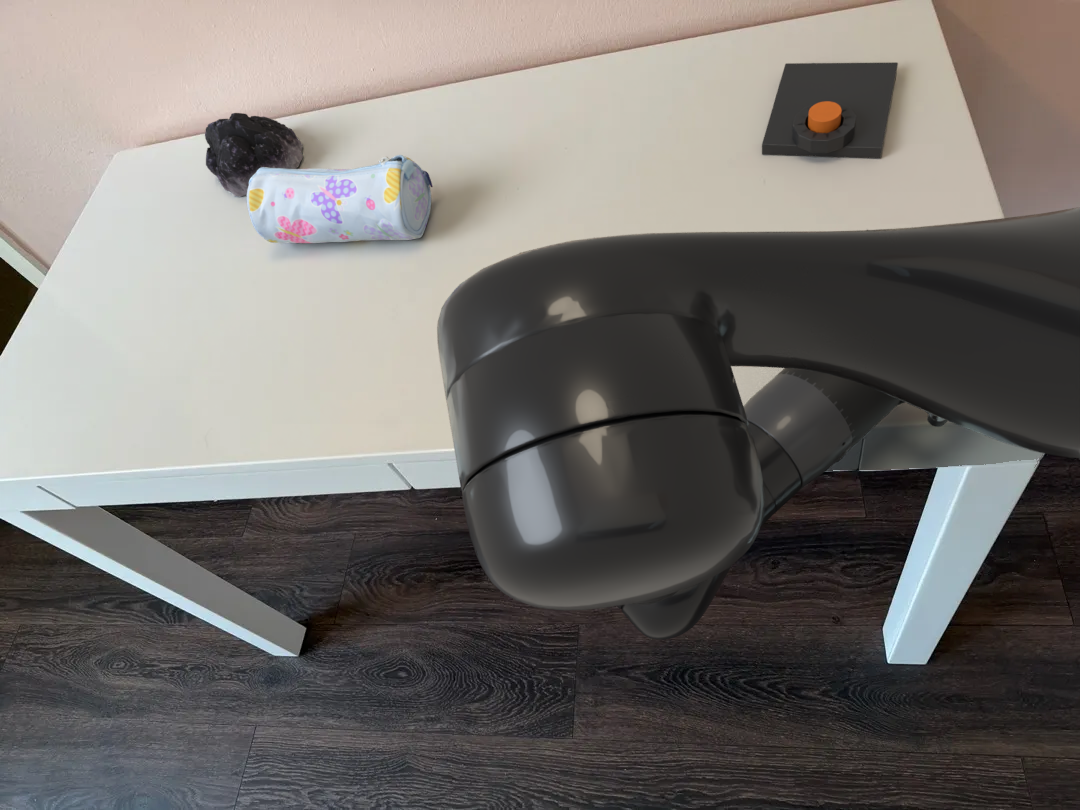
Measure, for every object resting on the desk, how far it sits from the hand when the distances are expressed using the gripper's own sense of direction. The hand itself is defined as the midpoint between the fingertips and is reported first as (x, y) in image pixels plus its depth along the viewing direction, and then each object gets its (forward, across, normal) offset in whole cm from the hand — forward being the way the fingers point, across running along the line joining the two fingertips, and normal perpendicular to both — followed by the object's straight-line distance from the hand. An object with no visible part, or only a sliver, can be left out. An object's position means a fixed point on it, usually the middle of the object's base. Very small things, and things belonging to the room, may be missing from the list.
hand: (951, 287), depth 60 cm
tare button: (+14, +24, +5) cm, 29 cm away
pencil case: (-28, +58, +8) cm, 65 cm away
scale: (+19, +27, +8) cm, 34 cm away
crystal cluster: (-30, +81, +8) cm, 87 cm away
